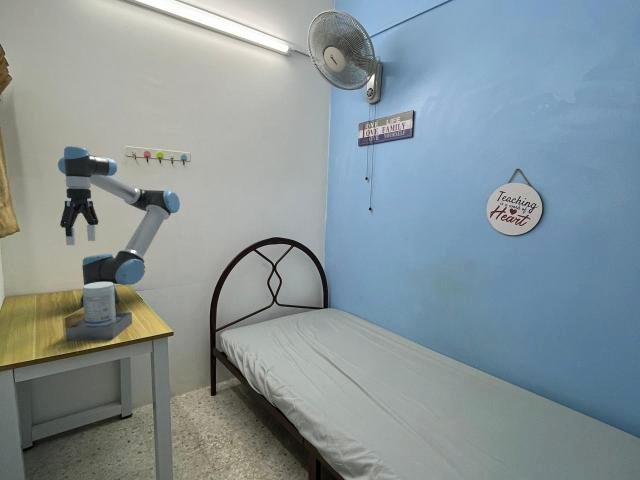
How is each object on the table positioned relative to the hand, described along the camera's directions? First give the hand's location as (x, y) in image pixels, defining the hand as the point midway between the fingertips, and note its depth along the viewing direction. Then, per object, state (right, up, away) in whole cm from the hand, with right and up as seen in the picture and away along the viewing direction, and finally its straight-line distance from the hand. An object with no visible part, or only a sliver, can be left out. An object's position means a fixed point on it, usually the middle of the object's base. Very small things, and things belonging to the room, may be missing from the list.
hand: (82, 242), depth 125 cm
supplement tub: (+12, -30, -7) cm, 33 cm away
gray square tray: (+12, -33, -7) cm, 36 cm away
